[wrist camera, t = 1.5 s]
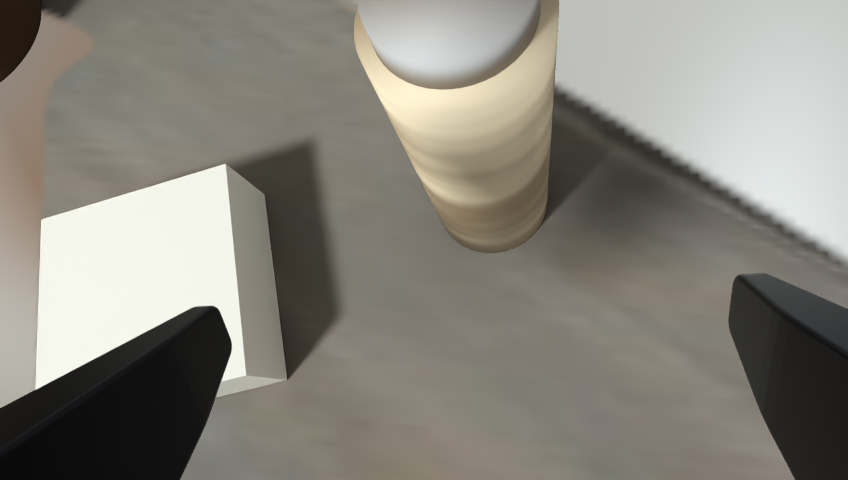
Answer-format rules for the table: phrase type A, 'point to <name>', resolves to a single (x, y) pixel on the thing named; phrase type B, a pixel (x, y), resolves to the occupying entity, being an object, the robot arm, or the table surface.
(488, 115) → the salt mill
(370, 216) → the table surface
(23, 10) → the olive oil
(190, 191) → the stoneware block
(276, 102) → the table surface
